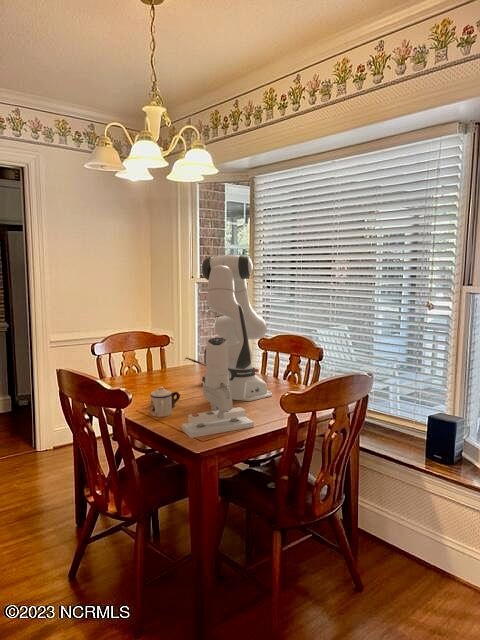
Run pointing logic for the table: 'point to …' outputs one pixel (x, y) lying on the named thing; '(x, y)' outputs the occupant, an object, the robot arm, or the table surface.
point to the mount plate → (216, 427)
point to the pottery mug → (174, 399)
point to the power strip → (216, 416)
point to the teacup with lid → (161, 402)
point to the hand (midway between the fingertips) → (217, 415)
